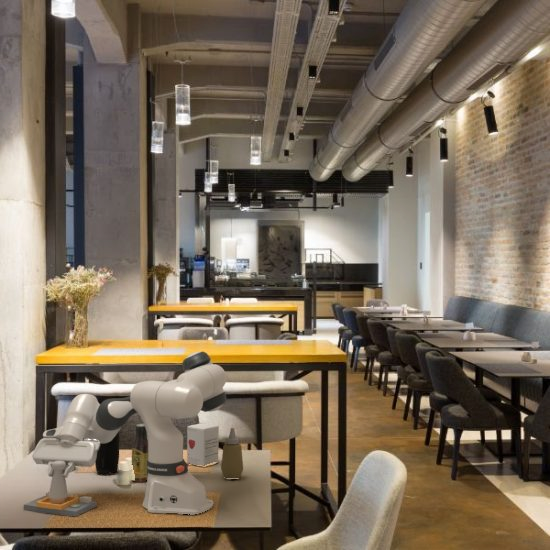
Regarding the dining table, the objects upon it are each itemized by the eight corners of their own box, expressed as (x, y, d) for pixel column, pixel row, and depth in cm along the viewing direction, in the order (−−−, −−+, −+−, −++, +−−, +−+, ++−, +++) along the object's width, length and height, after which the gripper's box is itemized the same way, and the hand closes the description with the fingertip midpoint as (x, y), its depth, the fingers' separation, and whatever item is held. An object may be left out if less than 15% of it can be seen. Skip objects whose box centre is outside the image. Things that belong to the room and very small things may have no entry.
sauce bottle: (127, 480, 271) (128, 424, 271) (143, 477, 275) (143, 422, 275) (137, 484, 266) (137, 427, 266) (152, 481, 270) (153, 425, 270)
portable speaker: (104, 468, 287) (105, 416, 287) (124, 471, 282) (124, 419, 283) (89, 473, 279) (89, 420, 279) (108, 477, 275) (109, 422, 275)
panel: (96, 506, 239) (96, 497, 239) (75, 517, 229) (75, 507, 229) (46, 500, 246) (46, 490, 246) (23, 510, 235) (23, 500, 235)
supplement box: (186, 464, 294) (186, 425, 294) (201, 460, 301) (201, 422, 301) (203, 468, 289) (204, 428, 289) (219, 463, 296) (219, 425, 296)
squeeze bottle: (216, 478, 275) (216, 428, 275) (233, 474, 280) (234, 425, 280) (230, 482, 269) (230, 431, 269) (247, 478, 274) (248, 428, 274)
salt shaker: (61, 506, 233) (62, 464, 233) (44, 505, 234) (45, 462, 234) (71, 501, 238) (71, 460, 239) (54, 500, 240) (55, 458, 240)
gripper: (104, 445, 246) (91, 483, 236) (45, 442, 249) (30, 479, 240) (99, 433, 241) (85, 472, 232) (39, 431, 245) (23, 469, 235)
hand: (57, 476), depth 236 cm, fingers closed on salt shaker, 3 cm apart
